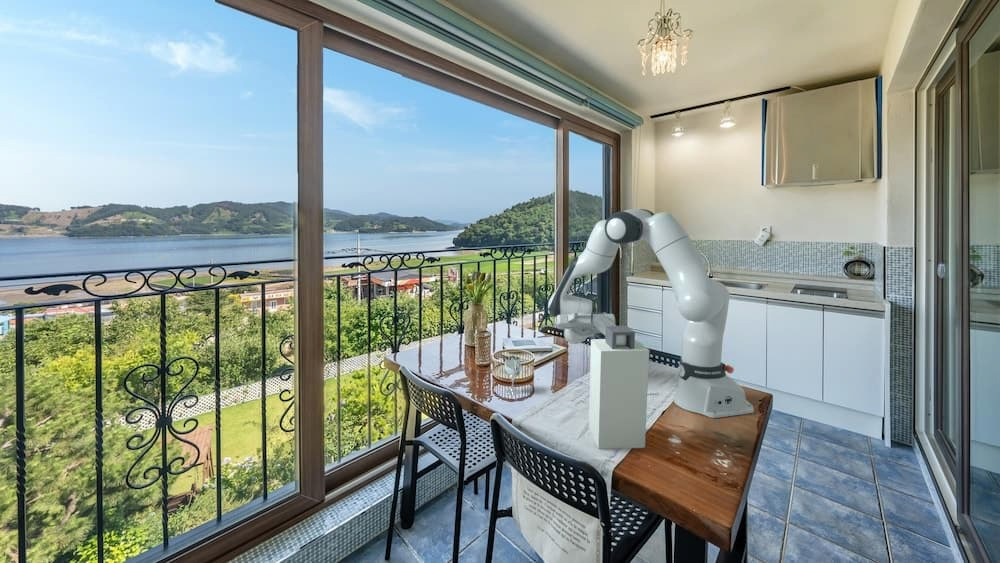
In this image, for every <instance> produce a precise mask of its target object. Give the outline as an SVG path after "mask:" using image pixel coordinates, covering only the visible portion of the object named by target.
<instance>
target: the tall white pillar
mask: <svg viewBox="0 0 1000 563" xmlns="http://www.w3.org/2000/svg"><path fill="white" fill-rule="evenodd" d="M617 335H627V346H616V336H617ZM604 337H605V338H597V339H596V338H594V339H593V338H591V339H590V357H589V358H590V364H589V366H590V367H589V404H588V406H589V407H588V408H589V409H588V411H589V412H588V430H589V432H590V435H591V436H592V439H593V441H594V443H595V444H596V447H597V449H598V450H606V449H607V450H609V449H610V448H616V449H644V448H646V431H647V414H648V413H647V410H648V409H647V407H648V389H649V388H648V387H649V386H648V385H649V368H650V367H649V363H650V349H648V348H647V347H646V346H645V345H643V344H642V343H641V342H640V341H638V339H636V338H635V337H636V331H634V330H633V329H632V328H631V327H629V326H628V325H616V326H606V333H605V335H604Z"/></svg>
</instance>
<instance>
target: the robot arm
mask: <svg viewBox="0 0 1000 563" xmlns="http://www.w3.org/2000/svg"><path fill="white" fill-rule="evenodd" d="M642 241H645V242H647V243H648V244H649V246H650V247H651V249H652V251H653V253H654V254H655V256H656V258H657V259H658V261H659V263H660V265H661V267H662V268H663V270H664V271H665V273H666V275H667V278H668V280H669V283H670V286H671V288H672V290H673V294H674V297H675V299H676V302H677V310H678V312H679V313H680V315H681V316H682V317H683V318H684V319H686V322H685V326H684V329H683V332H682V342H681V356H680V358H679V364H678V376H679V378H678V383H677V386H676V390H675V393H674V395H673V400H672V401H673V402H674V404H675V405H676V406H678V407H680V408H681V409H683V410H685V411H688V412H691V413H692V412H693V413H695V414H696V413H697V414H700V415H704V416H706V417H707V418H712V419H717V418H725V417H734V416H739V415H741V416H742V415H749V414H754V413H755V409H754V406H753V405H752V404H751V403H750V402H749V401H748V400H747V399H746V393H745V390H744V389H743V387H742V386H741V385H740V384H739V383H737V382H736V381H735V380H734V379H733V378H732V377H730V376H729V375H727V373H728V374H733V373H734V372H735V369H734V367H733V366H731V365H729V364H725V363H724V362H722V353H723V352H722V351H723V341H724V333H725V329H726V323H727V317H728V310H729V305H730V304H729V303H730V292H729V288H727V286H726V285H725V284H724V283H722V282H720V281H717V280H714V279H710V277H709V274H708V272H707V270H706V266H705V264H704V259H703V257H702V256H701V254H700V252H699V251H698V249H697V247H696V245H695V244H694V242H693V241H692V239H691V237H690V235H688V232H687V231H686V229H684V227H683V226H682V225H681V223H680V222H679V221H678V220H677V218H676V217H674V215H672V214H671V213H669V212H665V211H663V212H658V213H654V212H653V211H651V210H649V209H643V208H641V209H639V208H638V209H633V208H631V209H626V210H622V211H621V210H619V211H617V212H614V213H613V214H611V215H610V216H608V218H607V219H603V220H602V219H601V220H599V221H597V222H596V223H595V225H594V226H593V229H592V231H591V233H590V235H589V236H588V240H587V243H586V246H585V248H584V250H583V252H581V254H580V255H578V256H574V257H573V258H572V259H571V261H570V262H569V263H568V266H567V267H566V269H565V271H564V273H563V274H562V275H563V276H562V277H561V278H560V281H559V282H558V285H557V287H555V288H556V289H555V290H554V292H553V294H552V295H551V296H550V298H549V299H548V303H547V310H548V312H549V313H550V314H551V316H552V317H554V318H556V321H555V322H553V326H554V327H556V328H557V330H564V331H563V336H564V338H565V340H566V342H568V343H569V344H572V345H578V344H581V343H583V342H585V340H586V339H587V338H590V337H593V336H598V335H604V334H603V333H602V332H601V331H600V330H599V329H598V328H597V327H596V326H595V325H594V324H593V323H591V313H597V311H598V310H597V307H596V305H595V302H594V301H593V300H591V299H588V298H586V297H585V298H584V297H581V296H576V295H572V294H568V293H567V292H569V289H570V288H571V285H572V283H573V282H574V280H575V279H576V278H578V277H581V276H587V275H597V274H601V273H604V272H606V271H608V270H609V269H610V268H611V267H612V266H613V264H614V261H615V259H616V256H617V253H618V249H619V247H620V245H621V244H622V245H626V244H630V243H632V244H634V243H638V242H642ZM601 313H602V314H603V315H604V316H606V317H607V318H608V319H609V320H610V321H612V322H613V323H614V324H615V325H616V317H615V315H614V313H607V312H601ZM726 372H727V373H726Z"/></svg>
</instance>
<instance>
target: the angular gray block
mask: <svg viewBox="0 0 1000 563" xmlns="http://www.w3.org/2000/svg"><path fill="white" fill-rule="evenodd" d="M602 313H603V312H597V313H591V323H593V324H594V325H595V326H596V327H597V328H598V329H599V330H600V331H601V332H602V333H603V334H602V335H604V336H605V333H606V326H617V325H616V323H615V324H614V323H613V322H612V321H610V320H609V319H608V318H607V317H606V316H604V315H603V314H602ZM616 346H627V335H617V336H616Z"/></svg>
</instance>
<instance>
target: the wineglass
mask: <svg viewBox="0 0 1000 563" xmlns="http://www.w3.org/2000/svg"><path fill="white" fill-rule="evenodd" d="M504 359H505V360H504V366H503V367H504V368H503V370H504V373H505V375H507V376H508V377H511V379H510V380H511V388H509V389H507V390H505V391H506V394H508V395H517V394H519V393H520V390H519V389H517V388H514V382H515V377H517V376H519V375H520V373H522V372H521V371H522V363H521V359H520V357H519V356H516V355H509V356H506V357H505V358H504Z"/></svg>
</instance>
